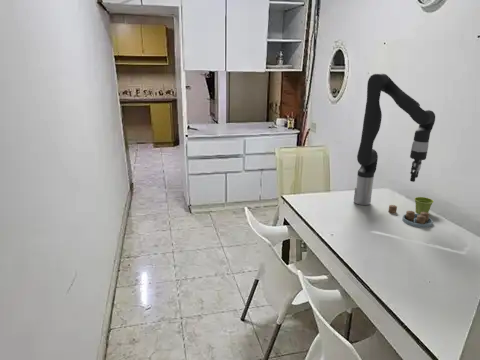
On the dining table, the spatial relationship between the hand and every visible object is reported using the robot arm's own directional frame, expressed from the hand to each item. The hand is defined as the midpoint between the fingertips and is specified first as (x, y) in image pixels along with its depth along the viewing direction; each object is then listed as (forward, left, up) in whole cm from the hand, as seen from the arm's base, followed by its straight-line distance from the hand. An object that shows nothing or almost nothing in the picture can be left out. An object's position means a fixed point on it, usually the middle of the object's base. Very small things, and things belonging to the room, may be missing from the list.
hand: (413, 179), depth 183 cm
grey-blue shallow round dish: (+5, -7, -22) cm, 23 cm away
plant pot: (+6, +8, -22) cm, 24 cm away
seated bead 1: (+7, -10, -21) cm, 24 cm away
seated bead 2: (+8, -5, -21) cm, 23 cm away
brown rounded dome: (+2, -7, -21) cm, 22 cm away
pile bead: (-8, 0, -22) cm, 23 cm away
